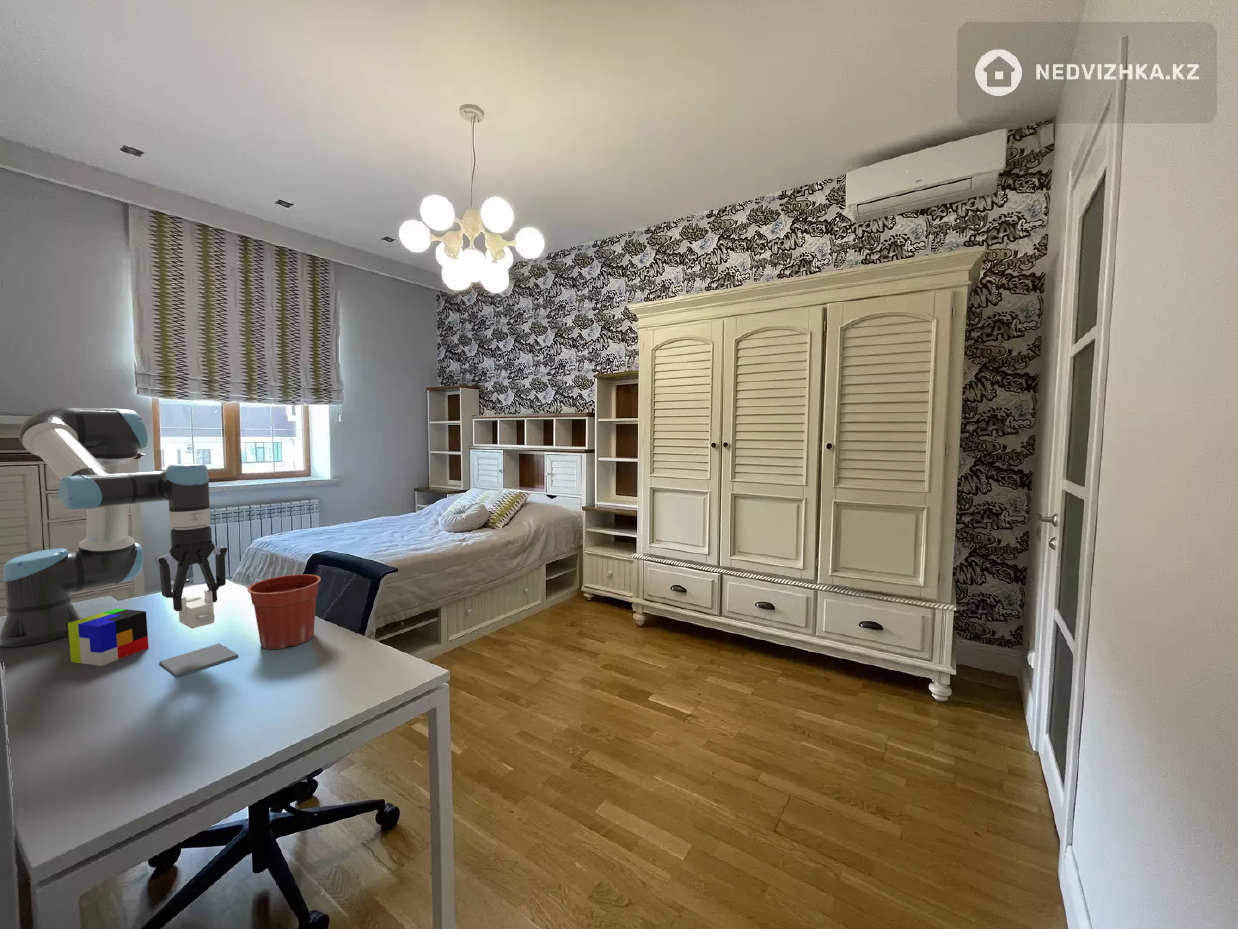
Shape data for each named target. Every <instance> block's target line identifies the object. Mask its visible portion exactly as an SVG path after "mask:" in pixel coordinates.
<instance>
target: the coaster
mask: <svg viewBox="0 0 1238 929" xmlns="http://www.w3.org/2000/svg"><path fill="white" fill-rule="evenodd" d="M235 658H239V654H238V653H236V652H235V651H233V650H231V649H229V648H228V647H226V646H224V645H222V644H221V643H216V644H213V645H212V644H211V645H210V646H206V647H203V648H200V649H195V650H193V651H189V652H186V653H183V654H179V655H176V656H173V657H170V658H166V659H163V660H160V661H158V662H159V664H160V665H161V667H163V668H164V669H166V670H167V671H168V672H170V673H171V674H172V675H173V676H175V677H176V678H178V677H181V676H184V675H187V674H190V673H193V672H196V671H200V670H203V669H205V668H208V667H212V666H214V665H217V664H221V663H225V662H227V661H229V660H233V659H235Z"/></svg>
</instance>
